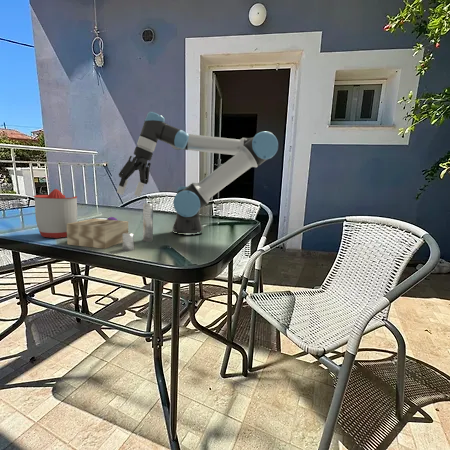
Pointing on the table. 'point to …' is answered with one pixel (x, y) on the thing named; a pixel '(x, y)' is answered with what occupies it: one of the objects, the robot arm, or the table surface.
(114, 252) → the table surface
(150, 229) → the long pin
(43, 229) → the citrus juicer
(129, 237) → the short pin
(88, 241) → the hole block
